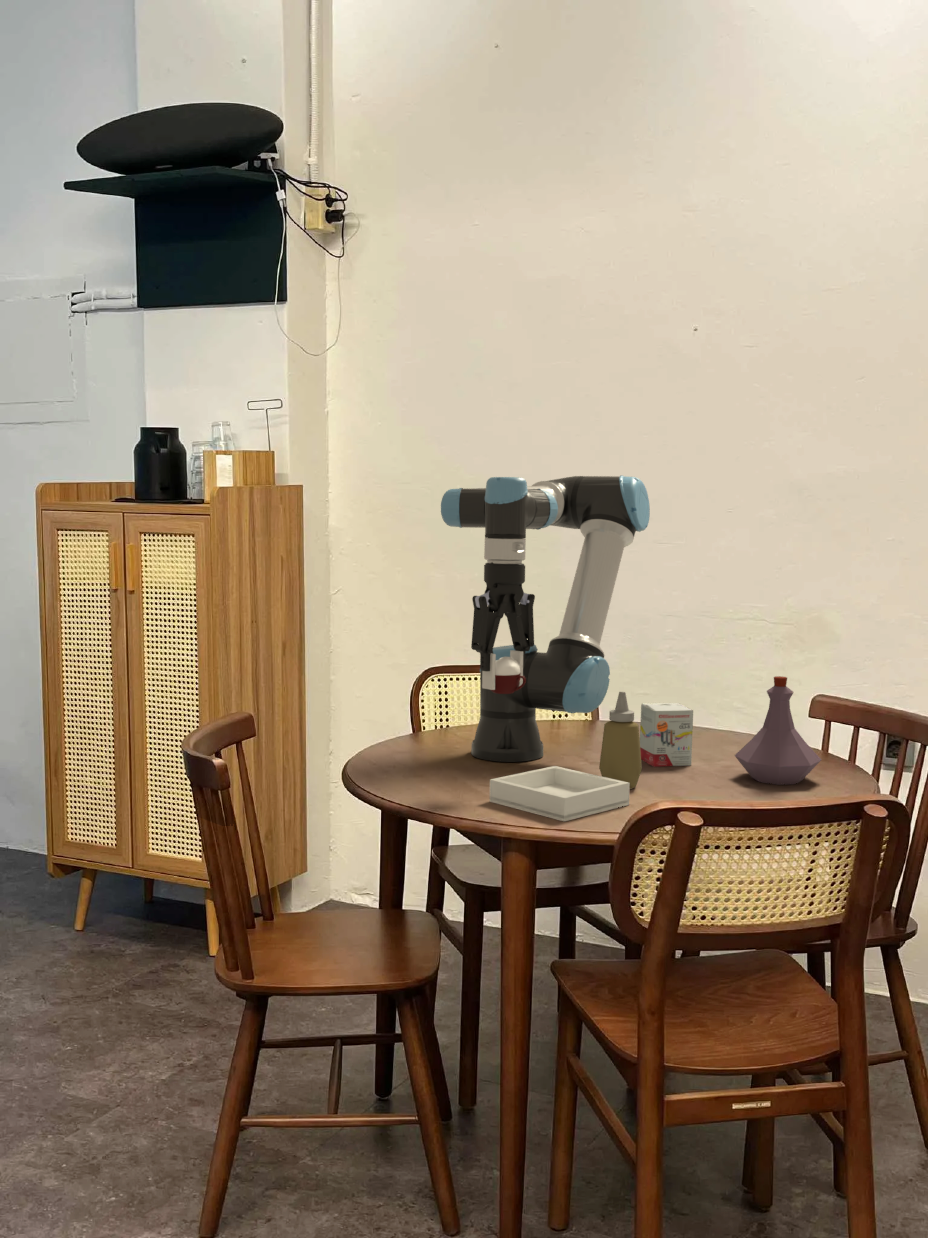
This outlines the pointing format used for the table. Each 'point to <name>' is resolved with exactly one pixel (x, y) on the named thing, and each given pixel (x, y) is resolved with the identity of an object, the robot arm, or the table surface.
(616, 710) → the squeeze bottle
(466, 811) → the table surface
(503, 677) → the cocoa
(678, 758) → the ink box
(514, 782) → the tray
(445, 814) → the table surface
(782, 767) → the flask
